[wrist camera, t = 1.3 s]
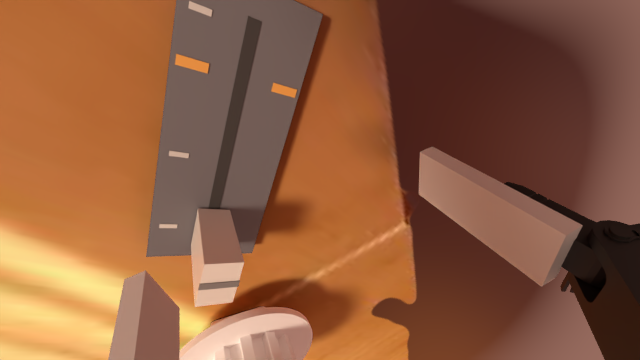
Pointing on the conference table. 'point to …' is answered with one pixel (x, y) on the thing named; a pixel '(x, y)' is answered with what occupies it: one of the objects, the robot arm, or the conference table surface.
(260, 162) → the fader console
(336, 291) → the conference table surface
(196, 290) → the fader tab
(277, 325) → the ribbed cylinder on disc
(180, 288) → the conference table surface
